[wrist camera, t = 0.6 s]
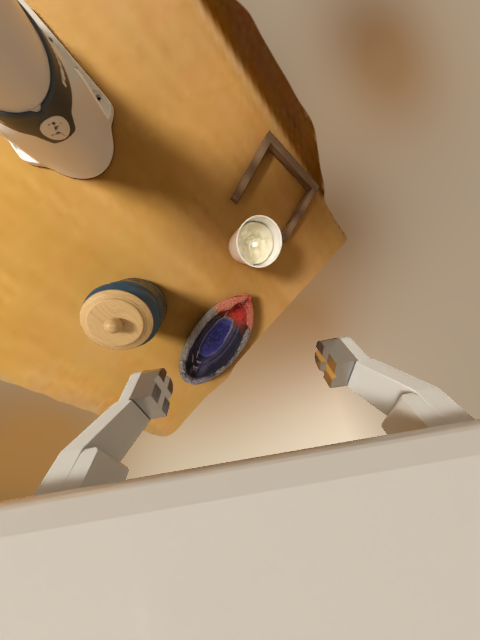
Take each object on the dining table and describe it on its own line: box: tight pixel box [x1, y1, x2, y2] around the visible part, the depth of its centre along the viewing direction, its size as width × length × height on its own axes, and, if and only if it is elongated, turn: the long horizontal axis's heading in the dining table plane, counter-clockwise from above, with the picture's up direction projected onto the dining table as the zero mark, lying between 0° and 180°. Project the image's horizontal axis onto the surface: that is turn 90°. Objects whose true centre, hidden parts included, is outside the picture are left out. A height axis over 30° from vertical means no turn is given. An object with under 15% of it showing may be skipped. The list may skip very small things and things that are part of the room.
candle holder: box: [229, 215, 282, 268], centre depth 41 cm, size 10×10×12 cm
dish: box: [179, 293, 254, 384], centre depth 50 cm, size 16×31×5 cm, turn 141°
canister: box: [80, 278, 167, 350], centre depth 36 cm, size 13×13×18 cm
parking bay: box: [231, 130, 319, 243], centre depth 44 cm, size 16×17×2 cm
